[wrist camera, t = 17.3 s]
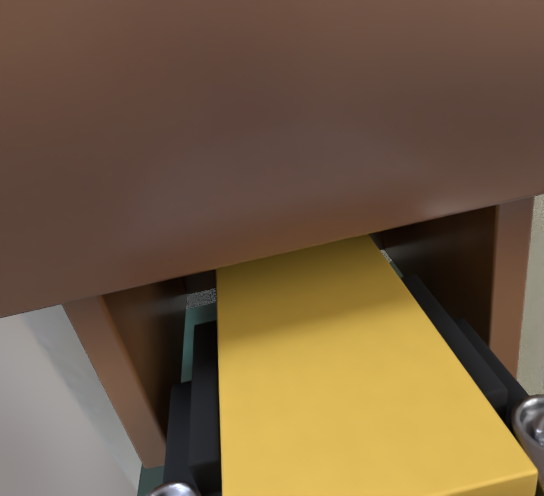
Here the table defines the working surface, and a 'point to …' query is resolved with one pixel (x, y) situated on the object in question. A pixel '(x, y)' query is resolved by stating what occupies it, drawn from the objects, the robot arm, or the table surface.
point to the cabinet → (249, 130)
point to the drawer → (180, 321)
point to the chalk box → (348, 386)
